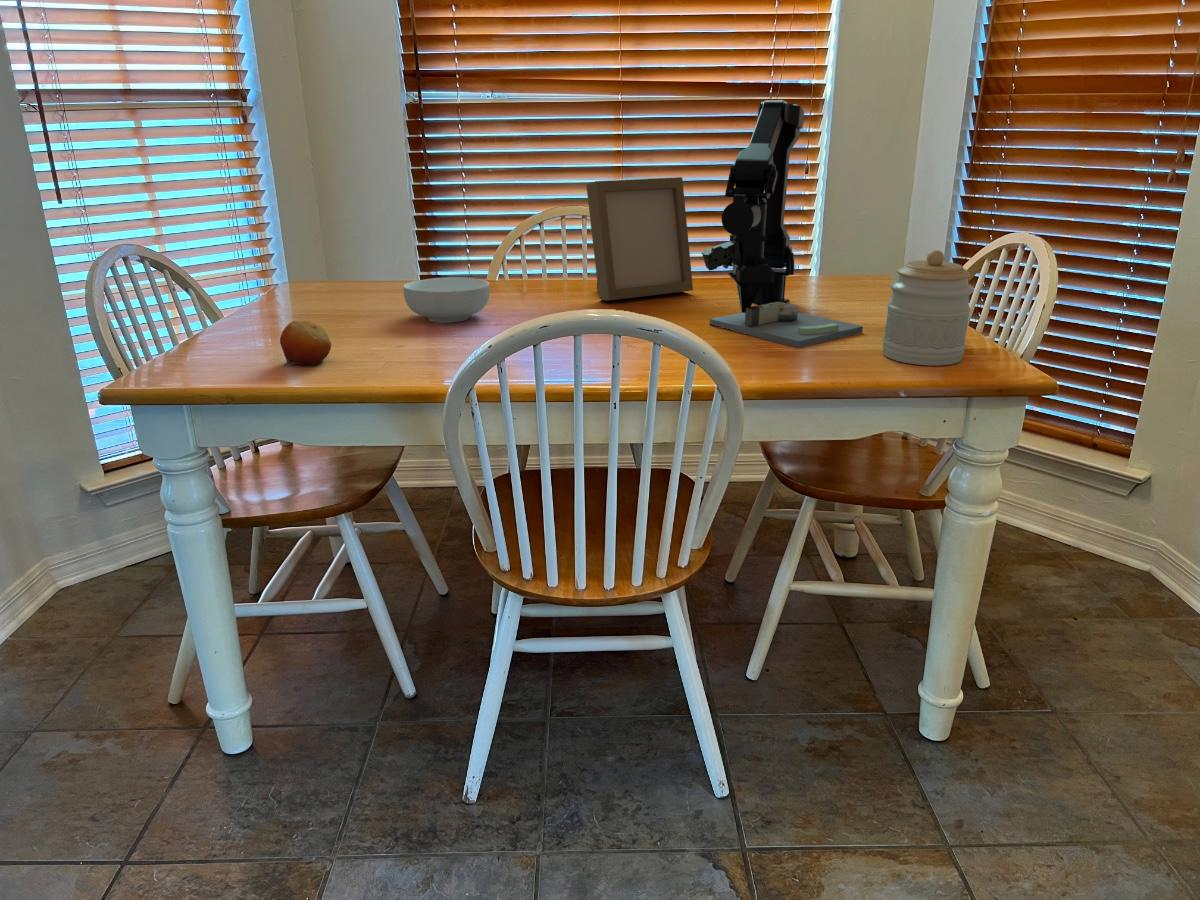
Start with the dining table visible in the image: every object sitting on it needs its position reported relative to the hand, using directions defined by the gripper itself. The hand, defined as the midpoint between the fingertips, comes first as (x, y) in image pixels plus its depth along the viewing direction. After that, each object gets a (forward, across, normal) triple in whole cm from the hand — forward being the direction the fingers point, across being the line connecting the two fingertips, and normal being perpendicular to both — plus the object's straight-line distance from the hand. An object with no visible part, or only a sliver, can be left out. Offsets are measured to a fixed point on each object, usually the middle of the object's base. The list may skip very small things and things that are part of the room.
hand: (744, 312), depth 165 cm
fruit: (+3, +22, -77) cm, 80 cm away
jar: (+3, +24, +26) cm, 35 cm away
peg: (+1, +2, +5) cm, 5 cm away
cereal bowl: (+3, -10, -58) cm, 59 cm away
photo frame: (+3, -32, -19) cm, 37 cm away
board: (+3, +3, +7) cm, 8 cm away
